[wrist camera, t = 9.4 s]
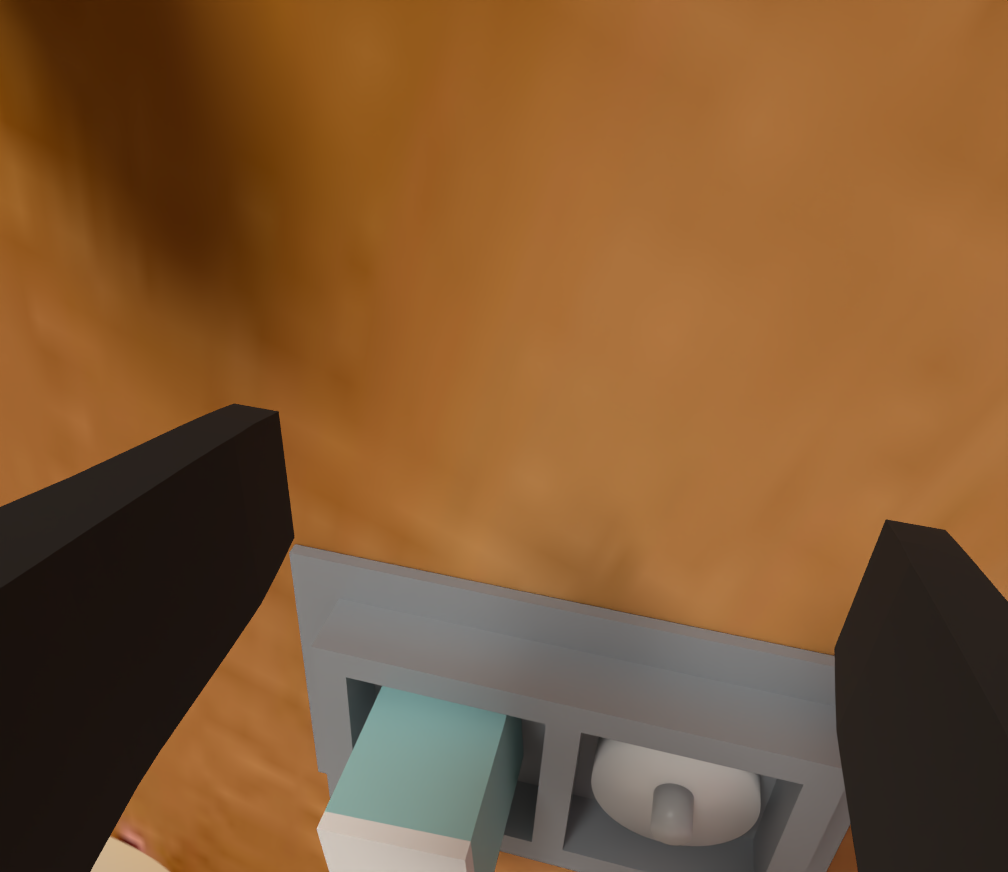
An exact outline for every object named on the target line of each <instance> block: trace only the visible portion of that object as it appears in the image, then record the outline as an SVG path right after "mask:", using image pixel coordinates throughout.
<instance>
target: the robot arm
mask: <svg viewBox="0 0 1008 872" xmlns="http://www.w3.org/2000/svg"><path fill="white" fill-rule="evenodd" d="M293 539H294V530H293V522H292V514H291V506H290V498H289V490H288V482H287V474H286V467H285V459H284V451H283V443H282V435H281V427H280V419H279V412H278V411H273V410H267V409H261V408H256V407H250V406H244V405H239V404H232V405H229V406H226V407H224V408H221V409H218V410H216V411H213V412H211V413H209V414H206V415H204V416H202V417H199V418H197V419H195V420H193V421H190V422H188V423H186V424H184V425H182V426H179V427H177V428H175V429H173V430H171V431H169V432H166V433H164V434H162V435H160V436H158V437H156V438H154V439H151V440H149V441H147V442H145V443H143V444H141V445H139V446H137V447H134V448H132V449H130V450H128V451H126V452H124V453H121V454H119V455H117V456H115V457H113V458H111V459H109V460H106V461H104V462H102V463H100V464H98V465H96V466H93V467H91V468H89V469H87V470H85V471H83V472H81V473H78V474H76V475H74V476H72V477H70V478H67V479H65V480H63V481H60V482H58V483H56V484H53V485H51V486H49V487H46V488H44V489H42V490H39V491H37V492H34V493H32V494H30V495H27V496H25V497H23V498H20V499H18V500H16V501H13V502H11V503H9V504H6V505H4V506H2V507H0V872H90V871H91V869H92V867H93V865H94V864H95V862H96V860H97V858H98V856H99V854H100V853H101V851H102V849H103V847H104V846H105V844H106V842H107V840H108V838H109V837H110V835H111V833H112V831H113V829H114V828H115V826H116V824H117V822H118V821H119V819H120V817H121V815H122V813H123V812H124V810H125V808H126V806H127V804H128V803H129V801H130V799H131V797H132V795H133V794H134V792H135V790H136V788H137V786H138V785H139V783H140V782H141V780H142V779H143V777H144V775H145V774H146V772H147V771H148V769H149V768H150V766H151V764H152V763H153V761H154V760H155V758H156V756H157V755H158V753H159V752H160V750H161V749H162V747H163V746H164V745H165V743H166V742H167V740H168V739H169V737H170V736H171V734H172V733H173V732H174V730H175V729H176V727H177V726H178V724H179V723H180V721H181V720H182V719H183V717H184V716H185V714H186V713H187V711H188V710H189V708H190V707H191V706H192V704H193V703H194V701H195V700H196V698H197V697H198V695H199V694H200V693H201V691H202V690H203V688H204V687H205V685H206V684H207V683H208V681H209V680H210V678H211V677H212V675H213V674H214V672H215V671H216V670H217V668H218V667H219V665H220V664H221V662H222V661H223V659H224V658H225V657H226V655H227V654H228V652H229V651H230V649H231V648H232V646H233V645H234V643H235V642H236V640H237V639H238V637H239V636H240V635H241V633H242V632H243V630H244V629H245V627H246V626H247V624H248V623H249V621H250V620H251V618H252V617H253V615H254V614H255V612H256V611H257V609H258V608H259V606H260V605H261V603H262V601H263V599H264V597H265V595H266V594H267V592H268V590H269V588H270V586H271V584H272V582H273V580H274V578H275V576H276V574H277V572H278V570H279V568H280V566H281V564H282V562H283V560H284V558H285V556H286V554H287V552H288V550H289V547H290V545H291V543H292V541H293ZM835 705H836V732H837V739H838V746H839V753H840V759H841V766H842V772H843V779H844V785H845V792H846V799H847V805H848V811H849V817H850V824H851V830H852V836H853V842H854V848H855V855H856V861H857V867H858V872H1008V601H1007V600H1006V599H1005V598H1004V597H1003V596H1002V594H1001V593H1000V592H999V591H998V590H997V589H996V587H995V586H994V585H993V584H992V583H991V581H990V580H989V579H988V578H987V577H986V576H985V574H984V573H983V572H982V571H981V570H980V569H979V567H978V566H977V565H976V564H975V563H974V562H973V560H972V559H971V558H970V557H969V556H968V555H967V553H966V552H965V551H964V550H963V549H962V548H961V547H960V545H959V544H958V543H957V542H956V541H955V540H954V539H953V538H952V537H951V536H950V535H949V533H948V532H947V531H946V530H942V529H937V528H931V527H925V526H920V525H914V524H908V523H903V522H897V521H891V520H885V523H884V525H883V528H882V530H881V533H880V535H879V538H878V541H877V543H876V546H875V548H874V551H873V553H872V556H871V558H870V561H869V563H868V566H867V568H866V571H865V573H864V576H863V578H862V581H861V583H860V586H859V588H858V591H857V593H856V596H855V598H854V601H853V603H852V606H851V608H850V611H849V613H848V616H847V618H846V621H845V623H844V626H843V628H842V631H841V633H840V636H839V638H838V641H837V643H836V646H835Z"/></svg>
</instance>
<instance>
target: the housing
mask: <svg viewBox="0 0 1008 872" xmlns="http://www.w3.org/2000/svg"><path fill="white" fill-rule="evenodd" d="M289 554H290V562H291V569H292V577H293V584H294V592H295V599H296V607H297V614H298V622H299V629H300V637H301V644H302V652H303V659H304V667H305V674H306V682H307V689H308V697H309V704H310V712H311V719H312V727H313V734H314V742H315V749H316V757H317V764H318V772H322V773H326V774H327V777H328V785H329V793H330V799H331V796H332V794H333V792H334V790H335V788H336V786H337V783H338V781H339V779H340V777H341V775H342V772H343V770H344V768H345V766H346V764H347V762H348V759H349V757H350V755H351V753H352V751H353V748H354V746H355V744H356V742H357V740H358V738H359V735H360V733H361V731H362V729H363V727H364V724H365V722H366V720H367V718H368V716H369V713H370V711H371V709H372V707H373V705H374V703H375V700H376V698H377V696H378V694H379V692H380V689H381V687H382V686H385V687H389V688H394V689H398V690H402V691H406V692H411V693H415V694H419V695H423V696H428V697H432V698H436V699H440V700H445V701H449V702H453V703H458V704H462V705H466V706H470V707H475V708H479V709H483V710H487V711H492V712H496V713H500V714H504V715H509V716H513V717H517V718H521V721H522V737H523V754H524V756H523V760H522V764H521V768H520V772H519V776H518V780H517V784H516V788H515V792H514V796H513V800H512V804H511V808H510V811H509V815H508V819H507V823H506V827H505V831H504V835H503V839H502V843H501V847H500V851H502V852H506V853H509V854H513V855H517V856H521V857H524V858H528V859H532V860H536V861H540V862H543V863H547V864H551V865H555V866H558V867H562V868H566V869H570V870H574V871H577V872H826V871H827V869H828V867H829V865H830V863H831V861H832V859H833V857H834V855H835V853H836V851H837V849H838V847H839V845H840V844H841V842H842V840H843V838H844V836H845V834H846V832H847V830H848V828H849V826H850V817H849V811H848V805H847V799H846V792H845V785H844V779H843V772H842V766H841V759H840V753H839V746H838V739H837V732H836V705H835V656H832V655H827V654H822V653H817V652H813V651H808V650H803V649H798V648H793V647H788V646H784V645H779V644H774V643H769V642H764V641H759V640H755V639H750V638H745V637H740V636H735V635H730V634H726V633H721V632H716V631H711V630H706V629H702V628H697V627H692V626H687V625H682V624H677V623H673V622H668V621H663V620H658V619H653V618H648V617H644V616H639V615H634V614H629V613H624V612H619V611H615V610H610V609H605V608H600V607H595V606H591V605H586V604H581V603H576V602H571V601H566V600H562V599H557V598H552V597H547V596H542V595H537V594H533V593H528V592H523V591H518V590H513V589H508V588H504V587H499V586H494V585H489V584H484V583H479V582H475V581H470V580H465V579H460V578H455V577H451V576H446V575H441V574H436V573H431V572H426V571H422V570H417V569H412V568H407V567H402V566H397V565H393V564H388V563H383V562H378V561H373V560H368V559H364V558H359V557H354V556H349V555H344V554H340V553H335V552H330V551H325V550H320V549H315V548H311V547H306V546H301V545H296V544H295V545H294V547H293V548H292V550H291V551H290V553H289Z"/></svg>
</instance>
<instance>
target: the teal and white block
mask: <svg viewBox="0 0 1008 872" xmlns="http://www.w3.org/2000/svg"><path fill="white" fill-rule="evenodd" d="M523 756H524V754H523V737H522V721H521V718H517V717H513V716H509V715H504V714H500V713H496V712H492V711H487V710H483V709H479V708H475V707H470V706H466V705H462V704H458V703H453V702H449V701H445V700H440V699H436V698H432V697H428V696H423V695H419V694H415V693H411V692H406V691H402V690H398V689H394V688H389V687H385V686H382V687H381V689H380V692H379V694H378V696H377V698H376V700H375V703H374V705H373V707H372V709H371V711H370V713H369V716H368V718H367V720H366V722H365V724H364V727H363V729H362V731H361V733H360V735H359V738H358V740H357V742H356V744H355V746H354V748H353V751H352V753H351V755H350V757H349V759H348V762H347V764H346V766H345V768H344V770H343V772H342V775H341V777H340V779H339V781H338V783H337V786H336V788H335V790H334V792H333V794H332V796H331V799H330V801H329V803H328V805H327V807H326V810H325V812H324V814H323V816H322V818H321V820H320V823H319V825H318V827H317V832H318V835H319V839H320V842H321V845H322V849H323V852H324V855H325V859H326V862H327V865H328V869H329V872H494V871H495V867H496V863H497V859H498V855H499V851H500V847H501V843H502V839H503V835H504V831H505V827H506V823H507V819H508V815H509V811H510V808H511V804H512V800H513V796H514V792H515V788H516V784H517V780H518V776H519V772H520V768H521V764H522V760H523Z"/></svg>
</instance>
